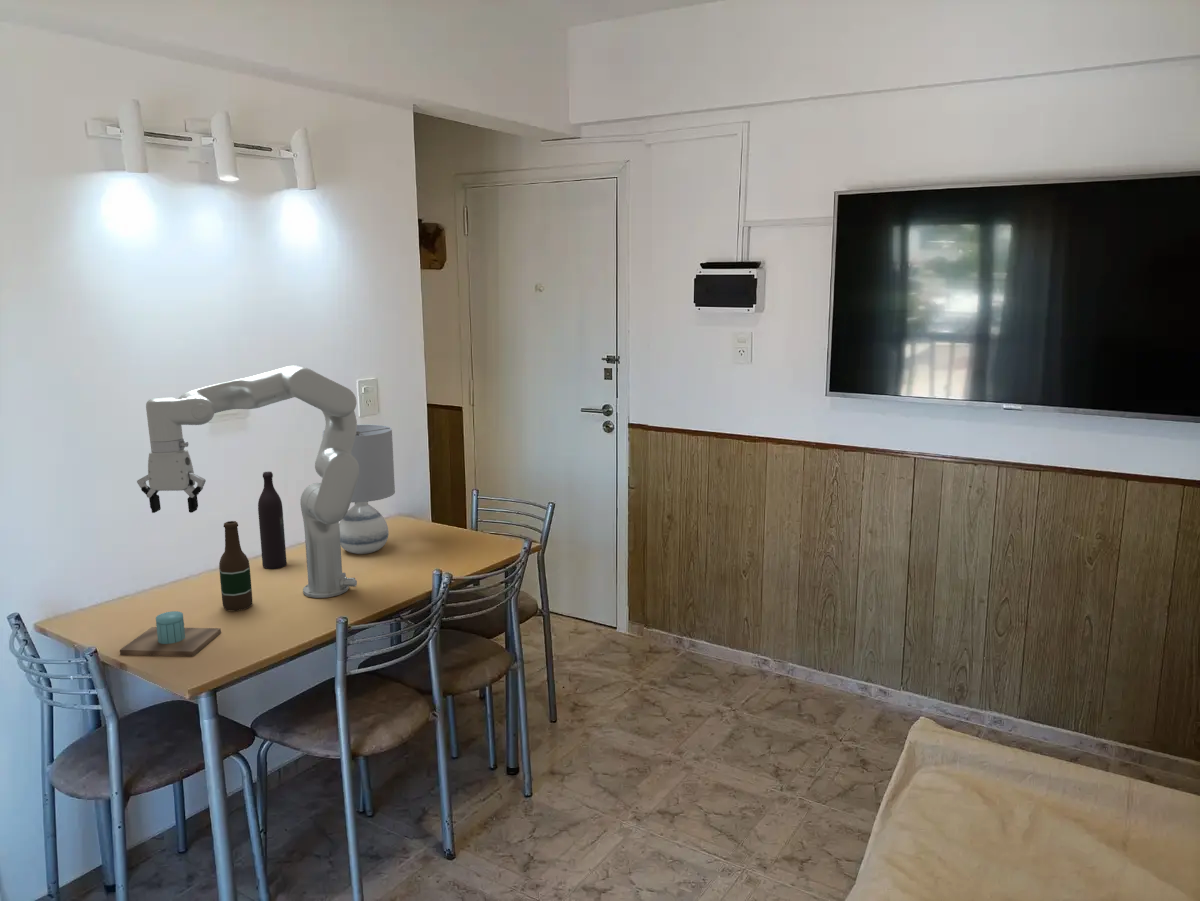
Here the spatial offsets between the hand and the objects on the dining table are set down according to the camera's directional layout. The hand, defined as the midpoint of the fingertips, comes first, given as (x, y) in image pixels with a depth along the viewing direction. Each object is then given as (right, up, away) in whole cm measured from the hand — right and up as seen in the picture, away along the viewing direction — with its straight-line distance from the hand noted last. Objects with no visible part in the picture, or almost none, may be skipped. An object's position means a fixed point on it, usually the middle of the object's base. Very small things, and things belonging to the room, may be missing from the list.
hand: (174, 511), depth 226 cm
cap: (+4, -31, -9) cm, 32 cm away
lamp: (+31, -18, +64) cm, 74 cm away
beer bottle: (+10, -27, +15) cm, 33 cm away
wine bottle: (+8, -21, +49) cm, 53 cm away
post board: (+4, -32, -9) cm, 33 cm away
